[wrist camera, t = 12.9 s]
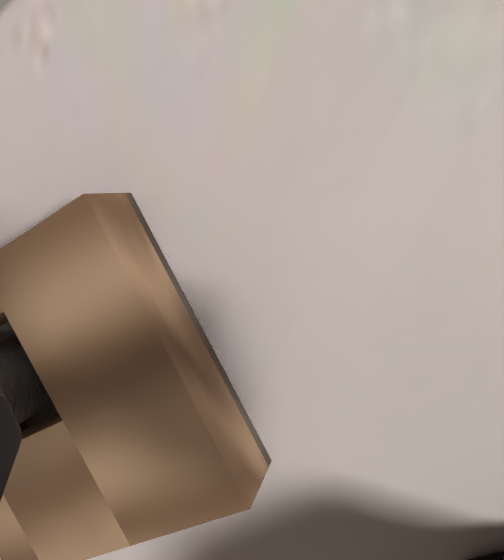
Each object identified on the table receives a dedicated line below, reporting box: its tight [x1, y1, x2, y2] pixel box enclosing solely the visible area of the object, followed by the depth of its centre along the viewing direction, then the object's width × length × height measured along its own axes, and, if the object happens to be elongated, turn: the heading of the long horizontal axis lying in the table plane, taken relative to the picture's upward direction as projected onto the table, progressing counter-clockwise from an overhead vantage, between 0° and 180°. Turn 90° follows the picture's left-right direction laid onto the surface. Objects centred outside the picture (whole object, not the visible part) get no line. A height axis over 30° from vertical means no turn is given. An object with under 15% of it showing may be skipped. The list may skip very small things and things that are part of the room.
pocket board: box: [0, 193, 271, 560], centre depth 22 cm, size 14×14×4 cm
